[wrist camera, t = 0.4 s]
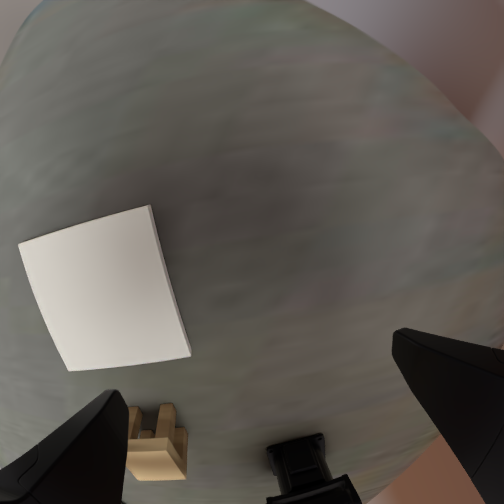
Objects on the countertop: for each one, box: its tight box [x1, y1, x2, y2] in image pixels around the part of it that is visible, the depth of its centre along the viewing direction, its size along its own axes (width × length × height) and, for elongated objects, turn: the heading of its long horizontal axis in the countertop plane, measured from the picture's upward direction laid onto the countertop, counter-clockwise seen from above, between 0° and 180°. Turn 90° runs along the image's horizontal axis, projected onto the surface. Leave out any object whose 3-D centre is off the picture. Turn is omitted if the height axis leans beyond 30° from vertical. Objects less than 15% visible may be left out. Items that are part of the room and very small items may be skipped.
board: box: [18, 204, 192, 371], centre depth 21 cm, size 12×12×1 cm
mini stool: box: [126, 403, 188, 480], centre depth 22 cm, size 5×5×6 cm
